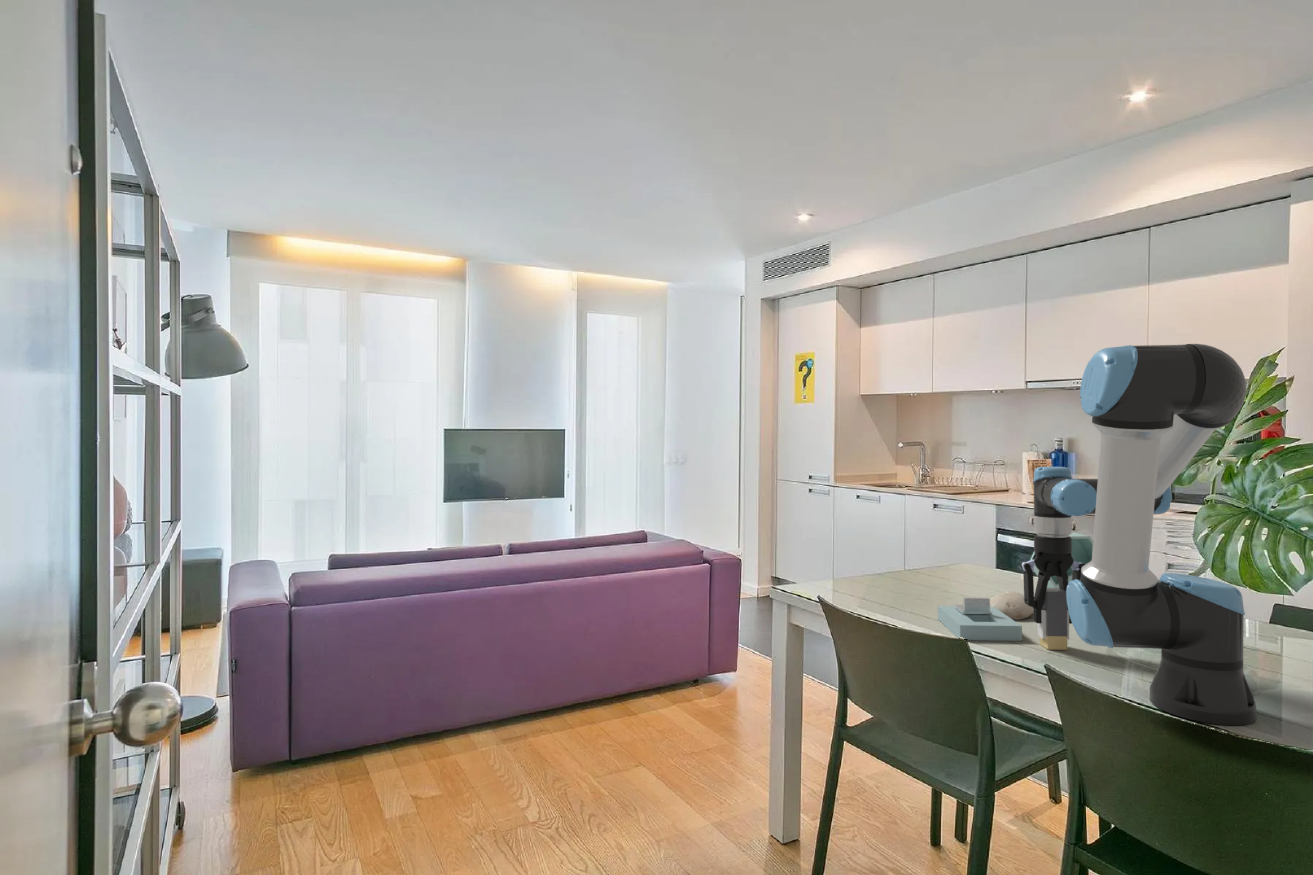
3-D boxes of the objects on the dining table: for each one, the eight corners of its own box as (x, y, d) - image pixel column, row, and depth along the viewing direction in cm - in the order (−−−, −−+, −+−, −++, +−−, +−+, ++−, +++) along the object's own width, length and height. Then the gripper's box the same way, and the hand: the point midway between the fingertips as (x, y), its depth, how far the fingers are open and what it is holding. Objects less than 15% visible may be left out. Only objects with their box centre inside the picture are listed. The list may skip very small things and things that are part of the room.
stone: (1006, 637, 187) (1022, 616, 183) (974, 610, 193) (990, 589, 189) (1029, 624, 195) (1046, 603, 191) (998, 598, 201) (1013, 577, 197)
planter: (1070, 610, 212) (1031, 552, 212) (1056, 604, 220) (1018, 548, 219) (1118, 578, 212) (1079, 520, 211) (1102, 573, 220) (1064, 517, 219)
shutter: (991, 614, 178) (991, 598, 178) (963, 613, 179) (963, 598, 179) (981, 607, 185) (981, 592, 185) (954, 606, 186) (954, 592, 185)
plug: (1067, 649, 161) (1067, 591, 161) (1047, 649, 162) (1047, 591, 162) (1058, 644, 165) (1058, 587, 165) (1039, 643, 166) (1039, 587, 166)
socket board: (1022, 640, 169) (1022, 625, 169) (960, 639, 170) (960, 625, 170) (993, 620, 187) (993, 606, 187) (937, 619, 188) (937, 606, 188)
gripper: (1084, 532, 166) (1085, 633, 166) (1006, 532, 168) (1007, 632, 168) (1101, 537, 159) (1101, 642, 159) (1019, 537, 160) (1020, 641, 161)
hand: (1053, 637), depth 164 cm, fingers closed on plug, 4 cm apart
